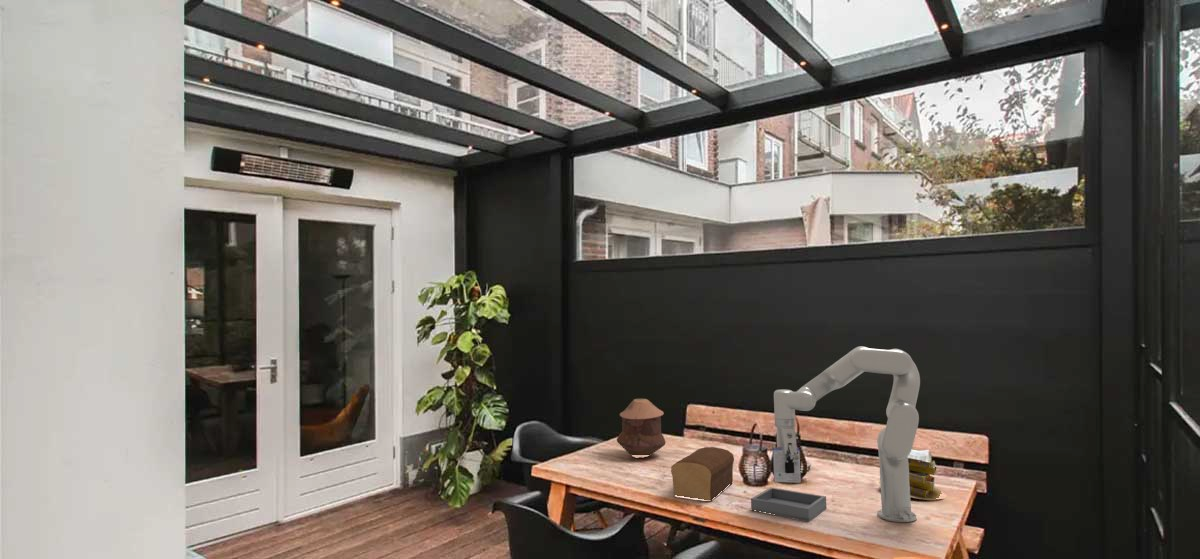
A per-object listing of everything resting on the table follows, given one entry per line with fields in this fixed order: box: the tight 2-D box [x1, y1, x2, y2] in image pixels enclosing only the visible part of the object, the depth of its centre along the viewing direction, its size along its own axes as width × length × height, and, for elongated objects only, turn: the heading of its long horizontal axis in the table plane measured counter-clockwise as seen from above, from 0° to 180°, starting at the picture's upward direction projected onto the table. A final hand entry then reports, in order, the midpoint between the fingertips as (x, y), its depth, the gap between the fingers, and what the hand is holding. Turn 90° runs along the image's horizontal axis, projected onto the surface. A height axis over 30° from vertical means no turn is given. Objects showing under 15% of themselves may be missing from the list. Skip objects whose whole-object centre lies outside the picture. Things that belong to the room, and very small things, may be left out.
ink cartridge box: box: [772, 446, 802, 484], centre depth 233 cm, size 10×6×14 cm, turn 79°
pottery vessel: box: [616, 398, 666, 456], centre depth 325 cm, size 26×26×30 cm
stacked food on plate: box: [877, 448, 944, 501], centre depth 250 cm, size 25×25×17 cm
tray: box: [750, 487, 827, 523], centre depth 232 cm, size 22×18×4 cm
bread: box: [670, 446, 735, 500], centre depth 261 cm, size 18×30×16 cm, turn 151°
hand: (786, 470), depth 233 cm, fingers closed on ink cartridge box, 6 cm apart
